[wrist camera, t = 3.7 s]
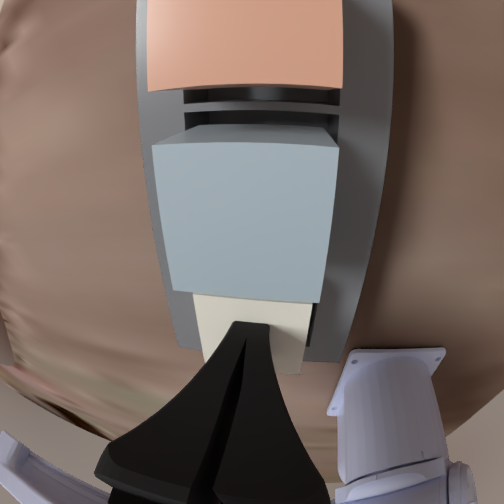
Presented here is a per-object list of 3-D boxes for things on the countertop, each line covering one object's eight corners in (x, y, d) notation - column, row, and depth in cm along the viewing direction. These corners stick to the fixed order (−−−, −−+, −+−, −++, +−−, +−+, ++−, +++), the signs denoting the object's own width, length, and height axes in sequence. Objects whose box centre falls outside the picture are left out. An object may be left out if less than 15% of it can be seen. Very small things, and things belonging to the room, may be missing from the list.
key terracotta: (324, 90, 8) (342, 88, 5) (198, 89, 9) (148, 91, 6) (323, -20, 6) (336, -69, 3) (197, -16, 7) (151, -55, 3)
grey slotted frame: (335, 319, 17) (339, 362, 14) (195, 307, 18) (178, 347, 15) (367, -17, 8) (386, -45, 5) (172, -15, 9) (139, -37, 6)
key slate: (314, 239, 11) (319, 302, 8) (206, 232, 12) (173, 290, 8) (323, 127, 9) (339, 147, 6) (199, 125, 9) (151, 145, 6)
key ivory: (301, 318, 15) (299, 375, 12) (222, 311, 16) (205, 365, 12) (309, 249, 13) (312, 304, 10) (216, 243, 13) (192, 294, 10)
